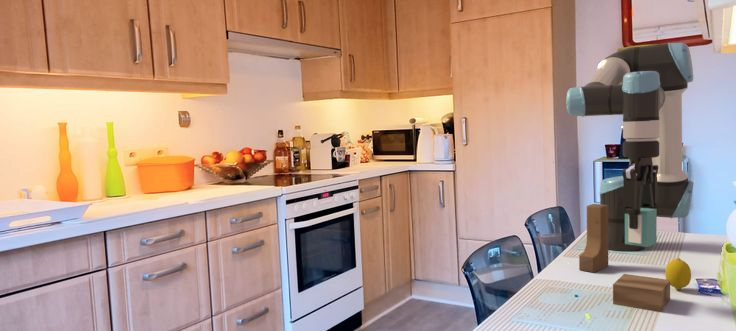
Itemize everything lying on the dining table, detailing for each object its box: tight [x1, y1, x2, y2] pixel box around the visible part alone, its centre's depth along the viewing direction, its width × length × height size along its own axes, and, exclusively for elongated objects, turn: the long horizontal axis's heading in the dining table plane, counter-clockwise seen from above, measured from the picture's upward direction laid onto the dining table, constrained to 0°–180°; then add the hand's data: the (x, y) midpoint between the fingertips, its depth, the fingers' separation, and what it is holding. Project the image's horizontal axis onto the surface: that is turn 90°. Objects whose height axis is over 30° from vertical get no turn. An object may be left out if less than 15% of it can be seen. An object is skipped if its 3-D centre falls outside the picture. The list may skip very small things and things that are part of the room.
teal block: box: [625, 208, 658, 248], centre depth 125 cm, size 5×5×8 cm
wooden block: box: [578, 203, 609, 273], centre depth 154 cm, size 9×4×18 cm, turn 131°
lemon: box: [664, 257, 692, 291], centre depth 133 cm, size 6×6×8 cm
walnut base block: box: [612, 273, 671, 313], centre depth 126 cm, size 10×10×5 cm
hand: (640, 240), depth 126 cm, fingers closed on teal block, 5 cm apart
